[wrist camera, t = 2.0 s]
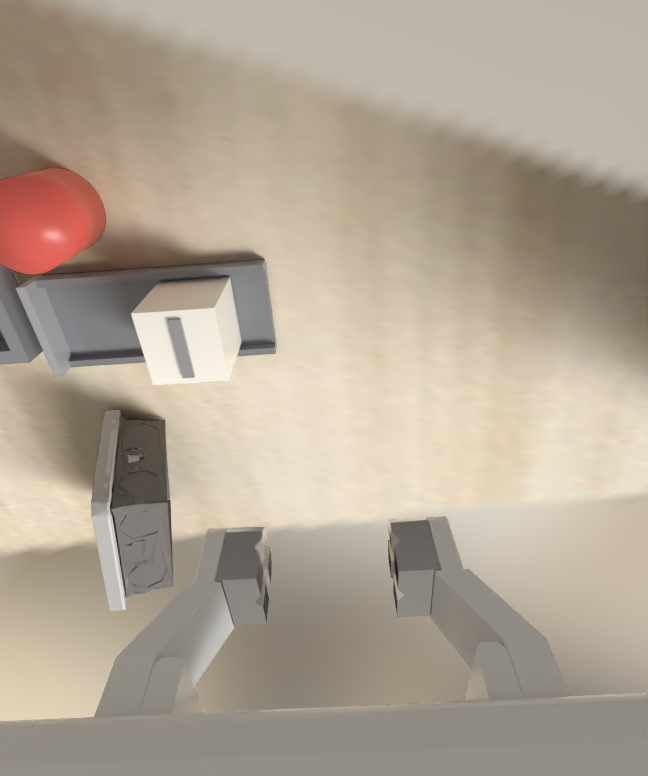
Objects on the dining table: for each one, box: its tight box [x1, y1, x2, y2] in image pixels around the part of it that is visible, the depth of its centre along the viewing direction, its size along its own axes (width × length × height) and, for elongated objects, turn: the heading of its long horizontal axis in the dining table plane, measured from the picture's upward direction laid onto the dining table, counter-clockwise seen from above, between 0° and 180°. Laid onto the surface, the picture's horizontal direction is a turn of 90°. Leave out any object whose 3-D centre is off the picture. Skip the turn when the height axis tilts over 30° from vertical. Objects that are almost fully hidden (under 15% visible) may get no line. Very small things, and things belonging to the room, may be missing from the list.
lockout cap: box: [0, 168, 106, 274], centre depth 22 cm, size 4×4×4 cm
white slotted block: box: [131, 277, 242, 385], centre depth 25 cm, size 4×4×5 cm
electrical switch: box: [91, 410, 173, 611], centre depth 29 cm, size 9×5×9 cm, turn 173°
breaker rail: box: [16, 259, 277, 376], centre depth 26 cm, size 13×5×2 cm, turn 94°
